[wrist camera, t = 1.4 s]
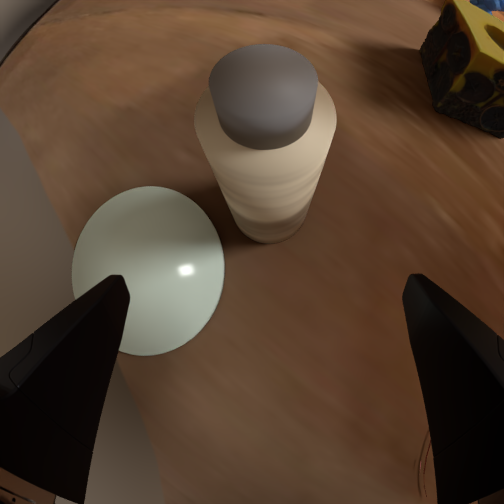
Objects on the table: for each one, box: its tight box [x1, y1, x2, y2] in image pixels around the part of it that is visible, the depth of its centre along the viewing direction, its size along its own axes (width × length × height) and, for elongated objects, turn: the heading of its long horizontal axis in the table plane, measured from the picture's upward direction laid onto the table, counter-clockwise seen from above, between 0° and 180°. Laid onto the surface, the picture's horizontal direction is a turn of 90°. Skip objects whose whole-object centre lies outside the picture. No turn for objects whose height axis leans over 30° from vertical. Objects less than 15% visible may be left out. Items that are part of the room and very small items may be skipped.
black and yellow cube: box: [419, 0, 504, 138], centre depth 19 cm, size 10×10×10 cm
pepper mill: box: [194, 44, 336, 244], centre depth 16 cm, size 6×6×14 cm
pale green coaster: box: [72, 186, 225, 356], centre depth 22 cm, size 13×13×1 cm
